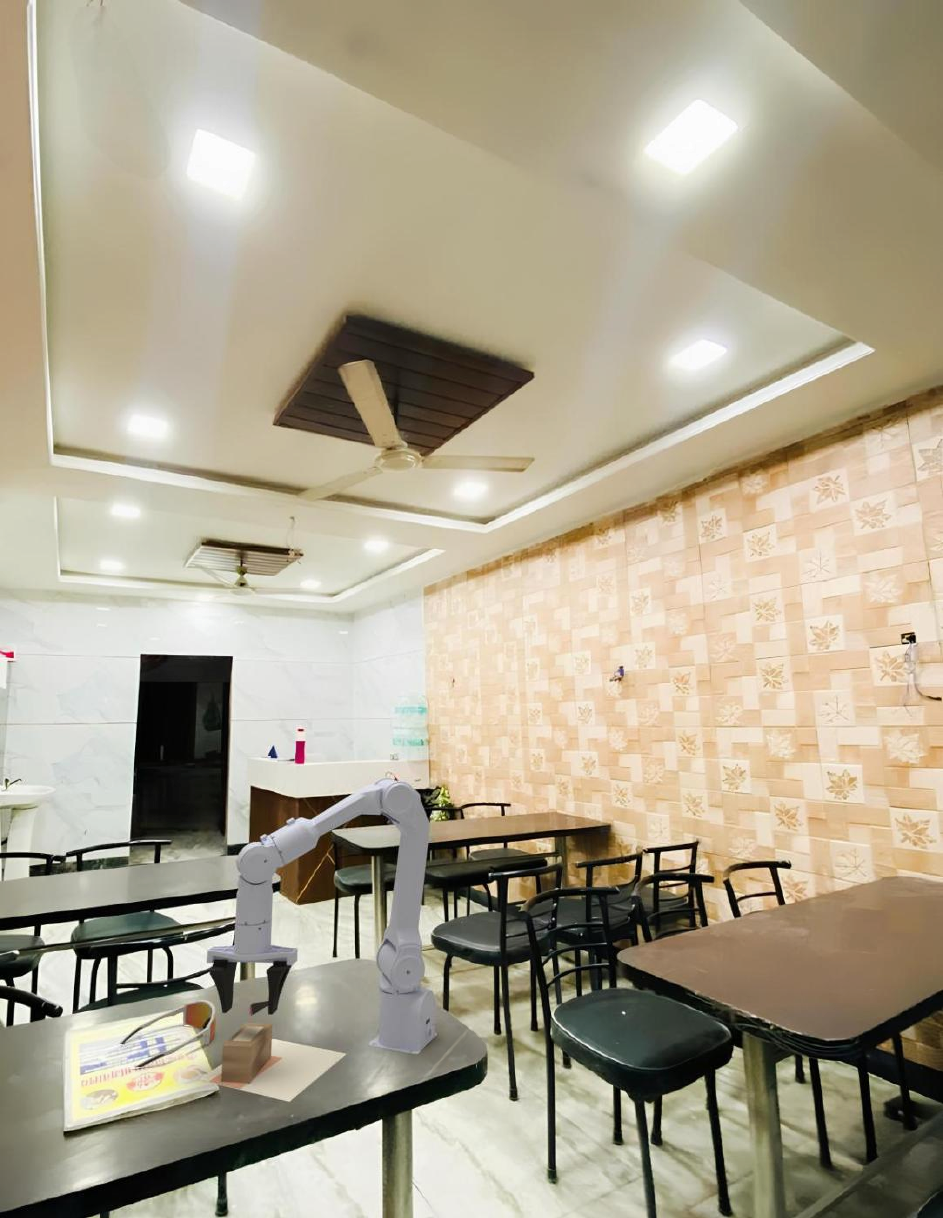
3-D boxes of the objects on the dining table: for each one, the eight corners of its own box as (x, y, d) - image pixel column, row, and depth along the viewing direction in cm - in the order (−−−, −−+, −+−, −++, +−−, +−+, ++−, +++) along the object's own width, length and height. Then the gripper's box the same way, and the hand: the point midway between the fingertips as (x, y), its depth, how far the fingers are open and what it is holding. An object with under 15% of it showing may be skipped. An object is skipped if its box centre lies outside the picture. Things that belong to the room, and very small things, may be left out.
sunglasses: (229, 1045, 112) (227, 1015, 113) (134, 1090, 102) (132, 1057, 103) (201, 1018, 123) (199, 991, 123) (113, 1057, 113) (111, 1027, 113)
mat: (346, 1057, 107) (346, 1053, 107) (289, 1106, 93) (289, 1100, 94) (263, 1040, 113) (263, 1036, 113) (198, 1083, 100) (198, 1078, 100)
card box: (249, 1083, 98) (251, 1046, 99) (221, 1081, 99) (223, 1044, 100) (271, 1057, 106) (272, 1022, 107) (244, 1056, 107) (246, 1021, 108)
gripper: (305, 914, 110) (302, 1002, 107) (223, 912, 111) (219, 999, 109) (289, 926, 103) (286, 1021, 100) (202, 925, 104) (196, 1018, 102)
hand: (249, 1011), depth 104 cm, fingers open, 7 cm apart
